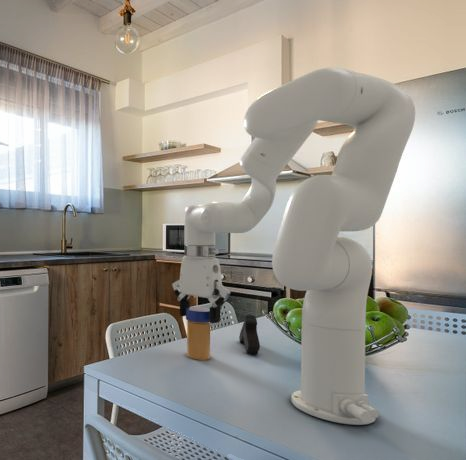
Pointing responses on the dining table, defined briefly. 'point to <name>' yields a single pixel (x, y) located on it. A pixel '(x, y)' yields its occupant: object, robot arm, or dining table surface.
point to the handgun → (250, 335)
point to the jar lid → (198, 314)
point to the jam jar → (198, 340)
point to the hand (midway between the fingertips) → (199, 318)
